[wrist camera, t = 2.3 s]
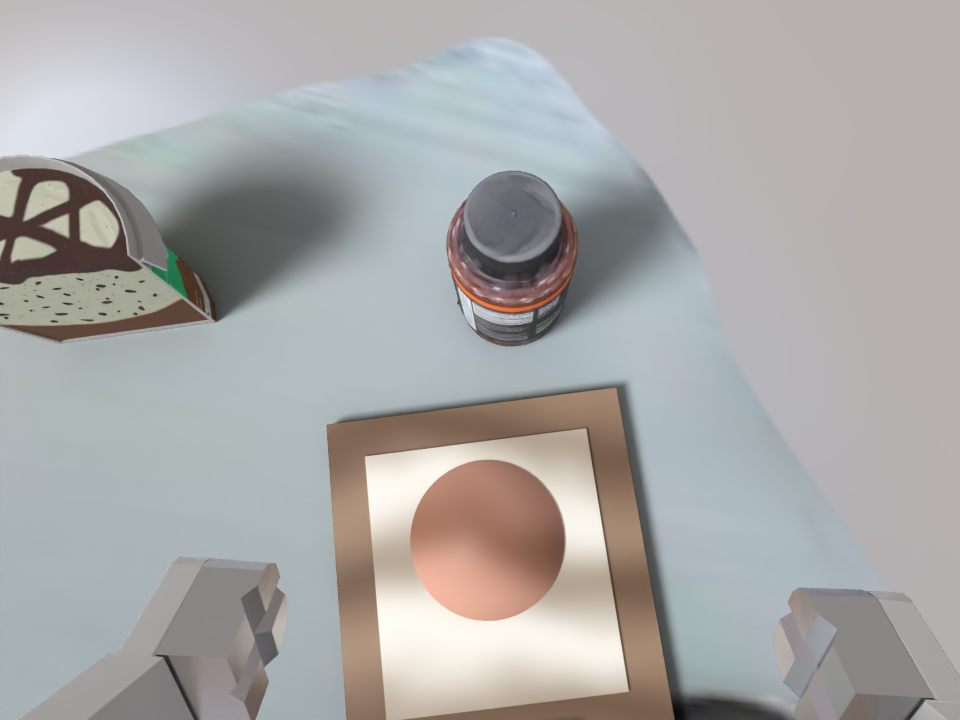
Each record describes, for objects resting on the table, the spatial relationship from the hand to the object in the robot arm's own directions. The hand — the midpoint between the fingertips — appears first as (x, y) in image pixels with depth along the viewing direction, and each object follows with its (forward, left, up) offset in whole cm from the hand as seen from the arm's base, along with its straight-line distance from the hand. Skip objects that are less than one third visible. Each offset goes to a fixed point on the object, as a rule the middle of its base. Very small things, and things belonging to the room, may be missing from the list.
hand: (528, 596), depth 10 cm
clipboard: (-3, +1, -23) cm, 23 cm away
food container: (+16, +20, -23) cm, 35 cm away
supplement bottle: (+12, -2, -23) cm, 26 cm away
